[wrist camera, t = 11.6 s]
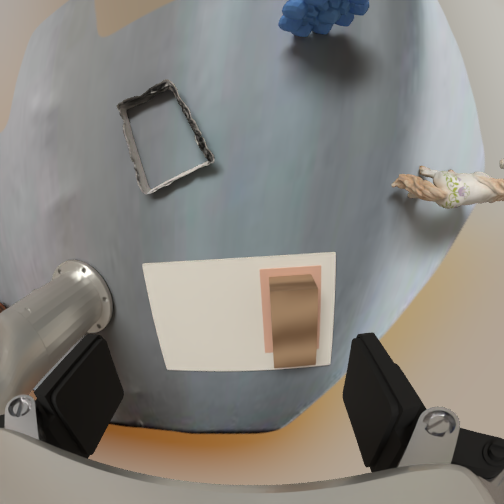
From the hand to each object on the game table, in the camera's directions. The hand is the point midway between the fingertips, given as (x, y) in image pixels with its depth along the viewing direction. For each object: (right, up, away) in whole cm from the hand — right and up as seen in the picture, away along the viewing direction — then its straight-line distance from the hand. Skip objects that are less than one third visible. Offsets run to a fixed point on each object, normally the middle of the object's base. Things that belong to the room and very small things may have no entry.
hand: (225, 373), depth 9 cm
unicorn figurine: (+28, +17, +23) cm, 40 cm away
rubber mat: (-1, -5, +30) cm, 30 cm away
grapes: (+9, +35, +19) cm, 41 cm away
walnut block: (+6, -4, +28) cm, 29 cm away
